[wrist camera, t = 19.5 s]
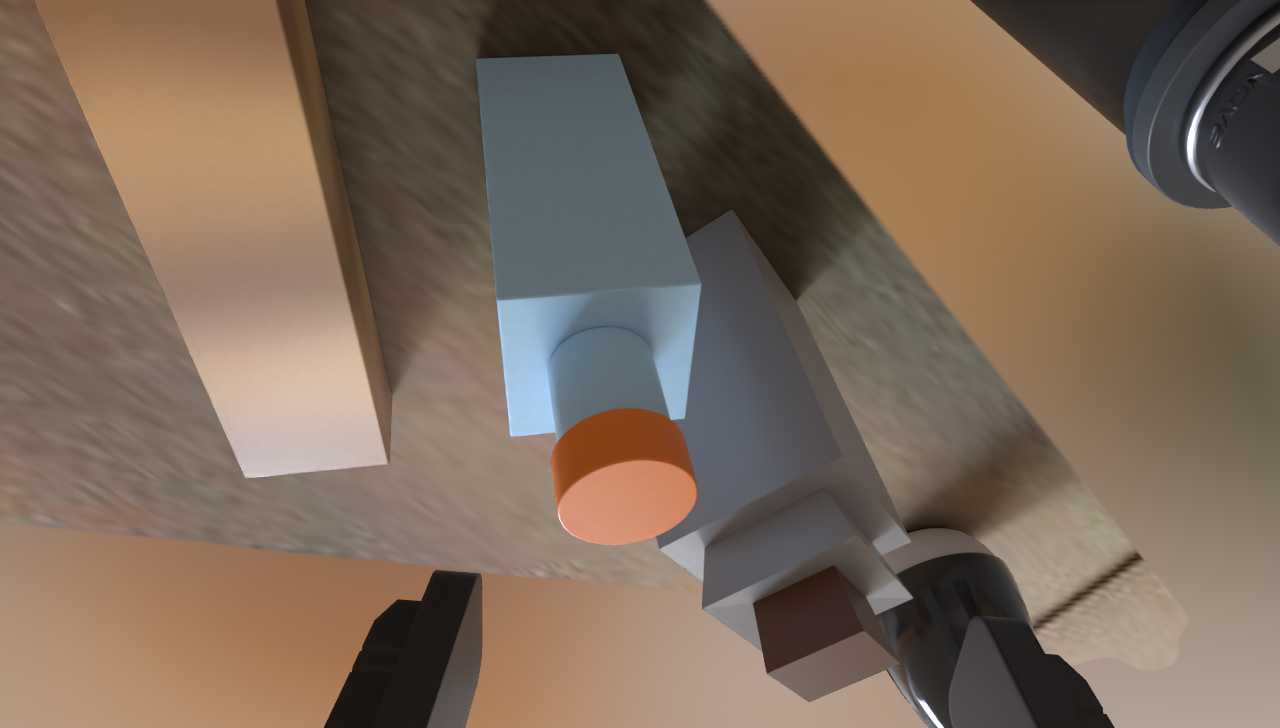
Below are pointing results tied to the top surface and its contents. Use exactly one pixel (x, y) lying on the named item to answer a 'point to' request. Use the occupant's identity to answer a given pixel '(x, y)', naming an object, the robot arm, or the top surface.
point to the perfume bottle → (780, 482)
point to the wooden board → (239, 215)
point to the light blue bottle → (590, 291)
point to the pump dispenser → (942, 612)
